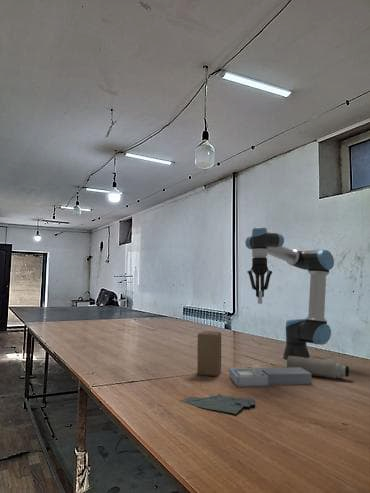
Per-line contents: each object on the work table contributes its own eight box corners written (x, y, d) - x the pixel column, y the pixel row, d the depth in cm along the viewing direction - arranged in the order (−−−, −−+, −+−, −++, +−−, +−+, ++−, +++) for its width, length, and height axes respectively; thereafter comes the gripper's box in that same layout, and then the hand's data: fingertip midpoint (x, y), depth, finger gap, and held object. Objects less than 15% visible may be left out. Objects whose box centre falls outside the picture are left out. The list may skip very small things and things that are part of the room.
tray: (257, 376, 176) (257, 367, 177) (268, 386, 161) (268, 376, 161) (229, 376, 175) (229, 368, 175) (237, 386, 159) (237, 377, 160)
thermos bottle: (290, 373, 188) (349, 382, 172) (285, 369, 182) (346, 377, 167) (292, 358, 191) (350, 365, 176) (288, 353, 186) (347, 360, 170)
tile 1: (237, 371, 171) (237, 378, 170) (240, 375, 165) (240, 381, 164) (249, 371, 171) (250, 378, 171) (253, 374, 165) (253, 381, 165)
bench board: (300, 376, 176) (300, 367, 177) (311, 383, 165) (311, 373, 165) (260, 377, 174) (260, 367, 175) (268, 384, 163) (268, 374, 163)
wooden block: (221, 372, 184) (221, 331, 186) (216, 377, 175) (216, 334, 177) (202, 370, 187) (202, 330, 189) (196, 375, 178) (197, 333, 180)
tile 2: (257, 364, 172) (251, 365, 172) (261, 367, 166) (255, 368, 166) (257, 378, 171) (251, 378, 171) (261, 381, 165) (255, 381, 165)
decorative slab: (203, 422, 120) (203, 416, 120) (176, 400, 142) (176, 395, 142) (269, 412, 130) (269, 406, 130) (235, 393, 152) (235, 388, 152)
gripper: (269, 258, 193) (270, 303, 191) (245, 257, 192) (245, 303, 190) (274, 257, 186) (274, 304, 184) (249, 256, 185) (249, 304, 183)
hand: (260, 303), depth 187 cm, fingers closed
